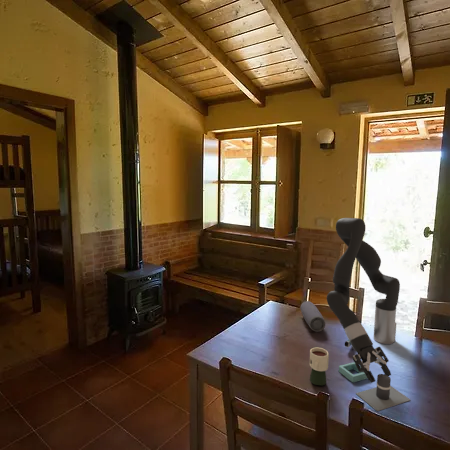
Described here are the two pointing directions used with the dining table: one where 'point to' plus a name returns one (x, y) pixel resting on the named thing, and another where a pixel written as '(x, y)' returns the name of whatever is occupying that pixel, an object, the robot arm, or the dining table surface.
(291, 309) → the dining table surface
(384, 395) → the dark grey cylinder
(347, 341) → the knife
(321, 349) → the character mug
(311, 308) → the bluetooth speaker
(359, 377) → the green square frame
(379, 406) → the grey mat
